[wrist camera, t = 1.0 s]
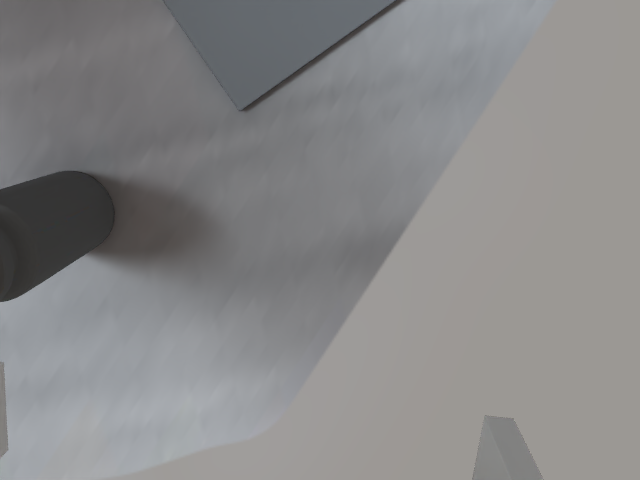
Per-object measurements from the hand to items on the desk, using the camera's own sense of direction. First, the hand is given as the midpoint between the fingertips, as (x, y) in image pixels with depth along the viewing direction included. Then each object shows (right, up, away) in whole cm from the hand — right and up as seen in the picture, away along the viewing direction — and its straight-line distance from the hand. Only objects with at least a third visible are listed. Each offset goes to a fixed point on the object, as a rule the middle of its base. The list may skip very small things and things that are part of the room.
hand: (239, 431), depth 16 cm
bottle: (-15, +7, +26) cm, 31 cm away
